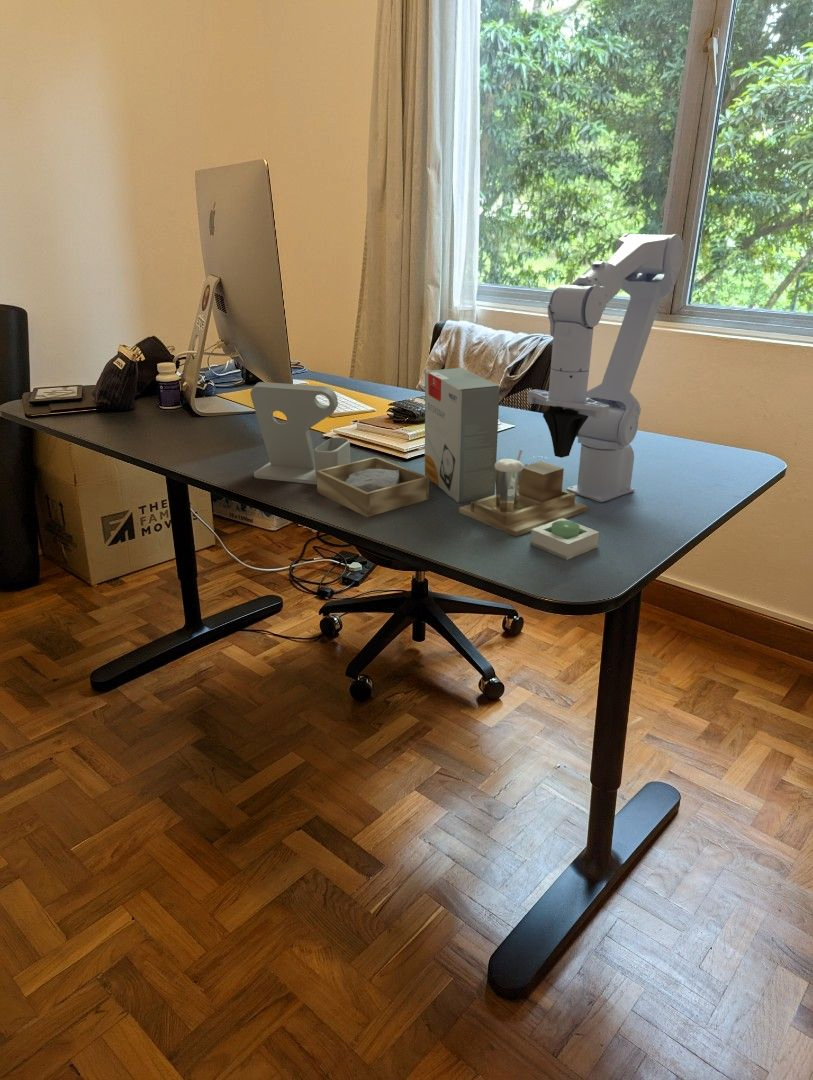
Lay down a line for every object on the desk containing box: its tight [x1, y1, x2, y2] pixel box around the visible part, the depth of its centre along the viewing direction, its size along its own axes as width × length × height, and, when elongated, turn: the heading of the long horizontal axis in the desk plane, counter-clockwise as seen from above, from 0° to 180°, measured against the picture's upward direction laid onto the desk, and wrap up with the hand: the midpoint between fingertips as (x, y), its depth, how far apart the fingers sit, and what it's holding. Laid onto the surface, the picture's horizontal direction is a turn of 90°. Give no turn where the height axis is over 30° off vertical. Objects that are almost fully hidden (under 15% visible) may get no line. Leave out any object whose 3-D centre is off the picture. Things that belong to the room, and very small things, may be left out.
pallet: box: [458, 488, 588, 537], centre depth 124 cm, size 17×13×2 cm
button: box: [551, 520, 580, 539], centre depth 110 cm, size 4×4×2 cm
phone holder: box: [249, 381, 351, 485], centre depth 139 cm, size 17×10×18 cm, turn 72°
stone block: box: [345, 469, 400, 492], centre depth 131 cm, size 12×5×10 cm
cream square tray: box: [530, 518, 600, 561], centre depth 111 cm, size 7×7×2 cm
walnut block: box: [519, 461, 565, 502], centre depth 125 cm, size 5×5×6 cm
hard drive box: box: [424, 367, 501, 503], centre depth 132 cm, size 16×8×20 cm, turn 21°
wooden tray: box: [316, 456, 430, 518], centre depth 131 cm, size 13×15×4 cm
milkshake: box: [494, 449, 524, 514], centre depth 119 cm, size 5×5×10 cm
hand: (561, 455), depth 118 cm, fingers closed
